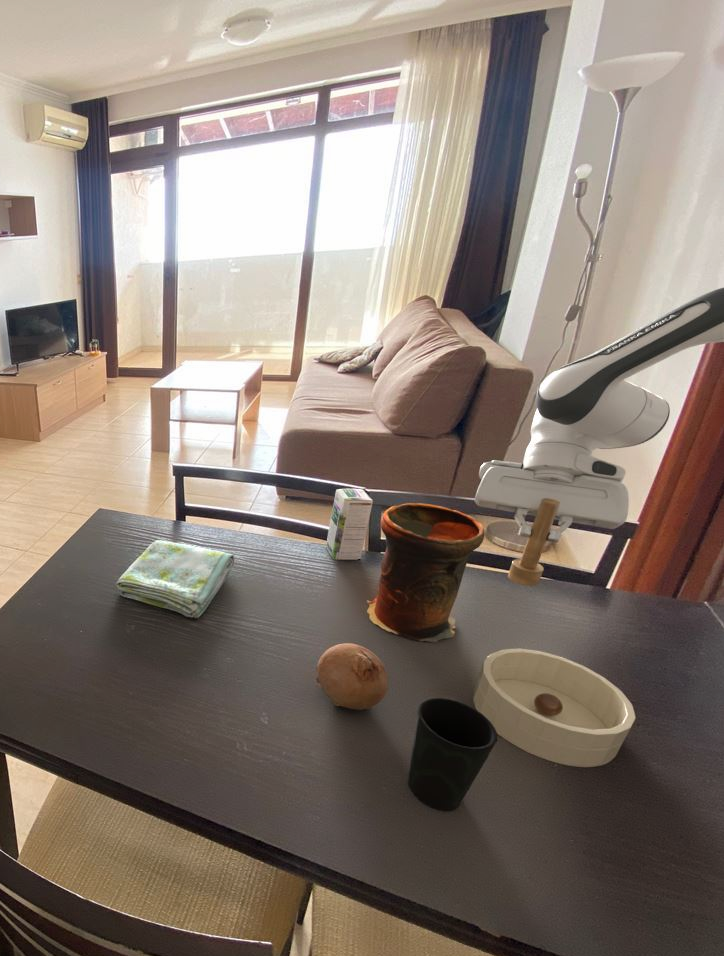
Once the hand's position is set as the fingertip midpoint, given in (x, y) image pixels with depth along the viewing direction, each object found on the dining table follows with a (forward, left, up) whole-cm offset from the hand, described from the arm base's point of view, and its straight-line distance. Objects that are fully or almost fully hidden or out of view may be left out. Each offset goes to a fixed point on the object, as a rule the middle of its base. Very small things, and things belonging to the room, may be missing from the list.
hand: (538, 538), depth 94 cm
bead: (+7, +30, -11) cm, 33 cm away
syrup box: (+28, -11, -13) cm, 33 cm away
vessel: (+20, +10, -13) cm, 26 cm away
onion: (+33, +33, -13) cm, 48 cm away
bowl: (+8, +31, -13) cm, 34 cm away
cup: (+25, +47, -13) cm, 55 cm away
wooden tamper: (0, -1, -9) cm, 9 cm away
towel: (+62, +8, -13) cm, 64 cm away
